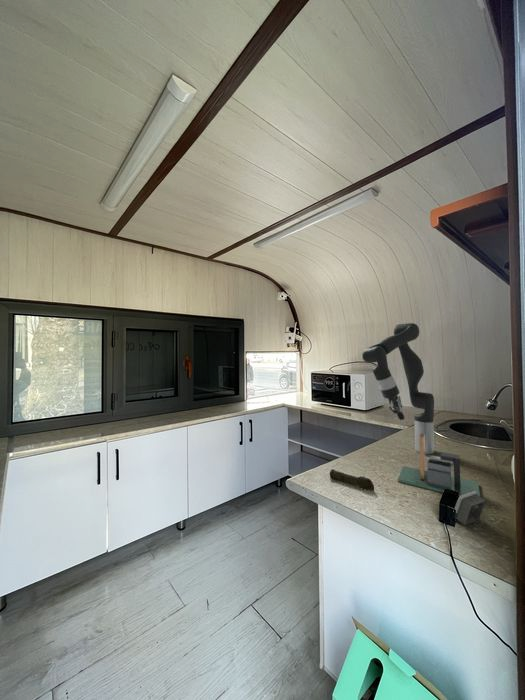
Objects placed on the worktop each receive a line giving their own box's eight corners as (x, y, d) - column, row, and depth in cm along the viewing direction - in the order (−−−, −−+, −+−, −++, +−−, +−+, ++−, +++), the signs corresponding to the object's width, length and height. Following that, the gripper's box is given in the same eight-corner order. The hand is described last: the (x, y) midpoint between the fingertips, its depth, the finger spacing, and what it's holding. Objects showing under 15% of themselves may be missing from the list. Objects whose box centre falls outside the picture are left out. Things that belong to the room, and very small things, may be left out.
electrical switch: (468, 512, 93) (470, 487, 92) (485, 522, 88) (487, 496, 87) (450, 519, 89) (453, 493, 88) (467, 530, 84) (470, 502, 84)
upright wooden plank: (421, 473, 120) (420, 433, 120) (453, 480, 113) (452, 437, 113) (420, 478, 115) (419, 436, 115) (452, 485, 108) (451, 441, 108)
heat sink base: (403, 468, 129) (403, 441, 129) (477, 484, 112) (477, 454, 112) (397, 481, 116) (397, 451, 116) (480, 502, 99) (479, 467, 99)
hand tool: (328, 479, 119) (328, 469, 119) (333, 476, 122) (333, 466, 122) (371, 494, 106) (371, 483, 106) (375, 490, 109) (375, 479, 109)
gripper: (392, 389, 119) (408, 424, 120) (398, 379, 129) (412, 411, 130) (376, 393, 124) (391, 426, 124) (383, 382, 134) (396, 413, 134)
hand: (402, 418), depth 127 cm, fingers closed
